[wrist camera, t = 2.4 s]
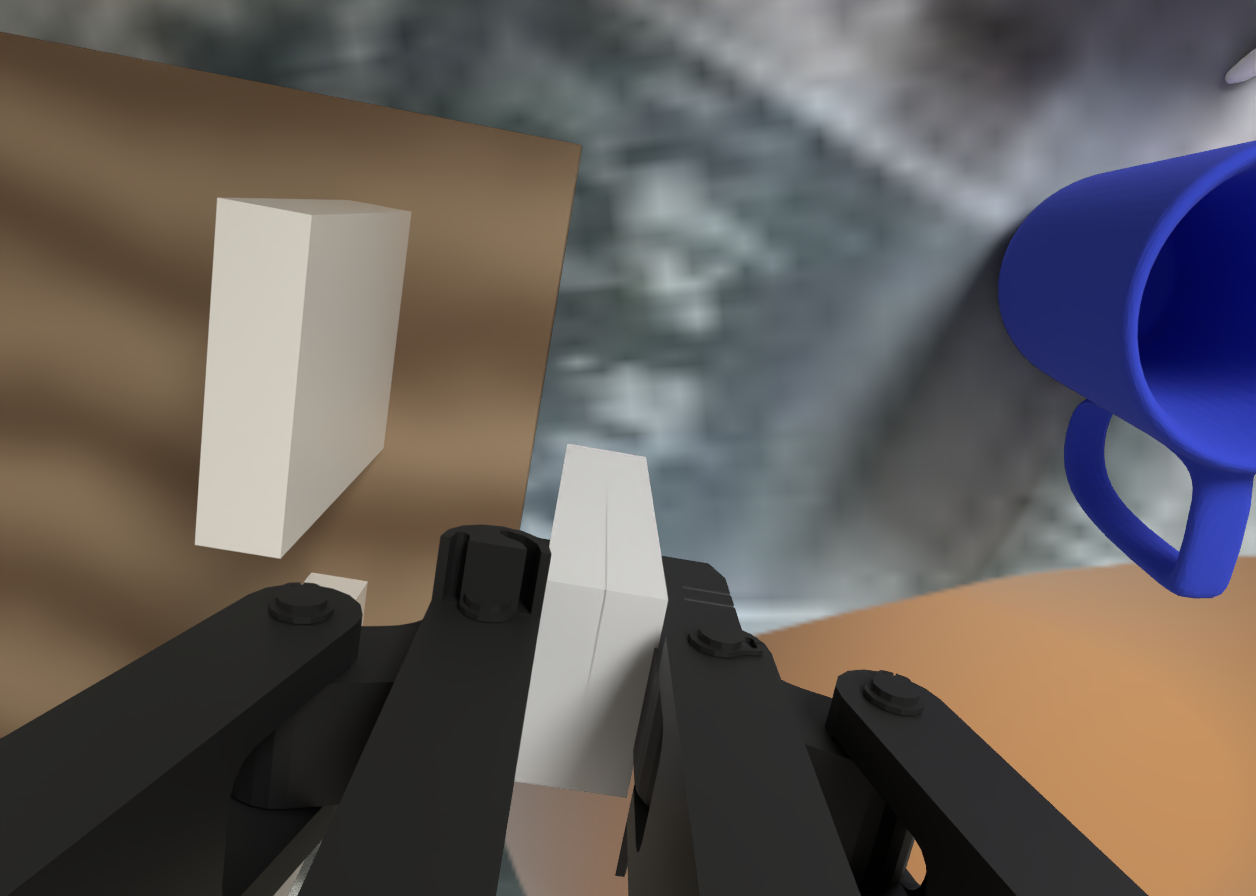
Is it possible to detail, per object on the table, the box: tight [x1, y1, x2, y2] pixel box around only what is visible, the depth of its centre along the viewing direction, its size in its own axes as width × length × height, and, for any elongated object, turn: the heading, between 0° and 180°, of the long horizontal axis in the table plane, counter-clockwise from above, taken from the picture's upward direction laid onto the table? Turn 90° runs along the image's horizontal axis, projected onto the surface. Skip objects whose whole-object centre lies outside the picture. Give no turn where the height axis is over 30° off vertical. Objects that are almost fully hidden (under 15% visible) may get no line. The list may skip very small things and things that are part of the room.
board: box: [0, 32, 582, 739], centre depth 32 cm, size 26×18×1 cm
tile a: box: [195, 198, 411, 559], centre depth 25 cm, size 8×2×10 cm, turn 170°
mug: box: [998, 141, 1256, 598], centre depth 27 cm, size 8×12×10 cm
